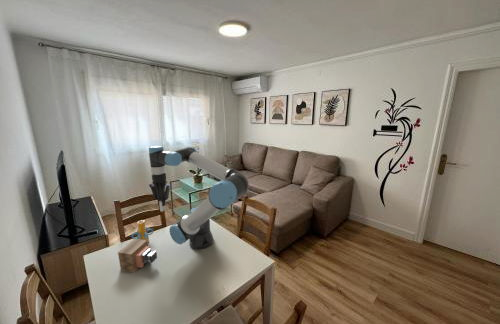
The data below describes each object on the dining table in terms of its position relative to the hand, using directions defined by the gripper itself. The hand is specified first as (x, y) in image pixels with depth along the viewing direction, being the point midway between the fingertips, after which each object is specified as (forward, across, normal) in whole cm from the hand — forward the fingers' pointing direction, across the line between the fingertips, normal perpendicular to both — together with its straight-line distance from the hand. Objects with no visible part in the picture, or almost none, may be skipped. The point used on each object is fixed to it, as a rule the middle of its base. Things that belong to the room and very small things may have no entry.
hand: (162, 210), depth 121 cm
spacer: (+23, +2, +17) cm, 29 cm away
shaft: (+21, +5, +17) cm, 27 cm away
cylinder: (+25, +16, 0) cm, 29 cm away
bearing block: (+24, +8, +17) cm, 31 cm away
